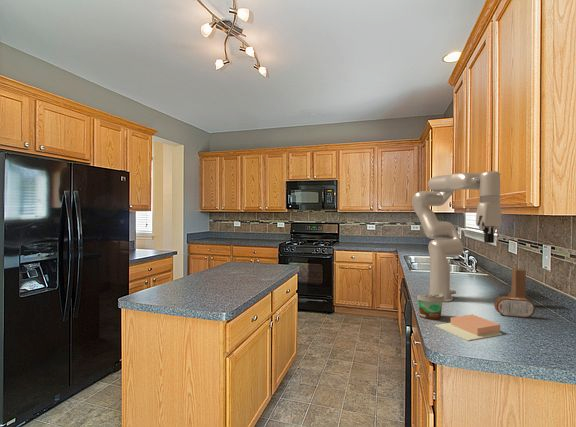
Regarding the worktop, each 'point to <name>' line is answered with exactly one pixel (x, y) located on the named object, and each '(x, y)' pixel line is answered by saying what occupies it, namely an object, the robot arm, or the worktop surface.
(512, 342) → the worktop surface
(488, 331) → the tile
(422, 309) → the food container
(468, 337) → the mat
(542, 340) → the worktop surface
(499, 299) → the tin
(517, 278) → the wooden block
